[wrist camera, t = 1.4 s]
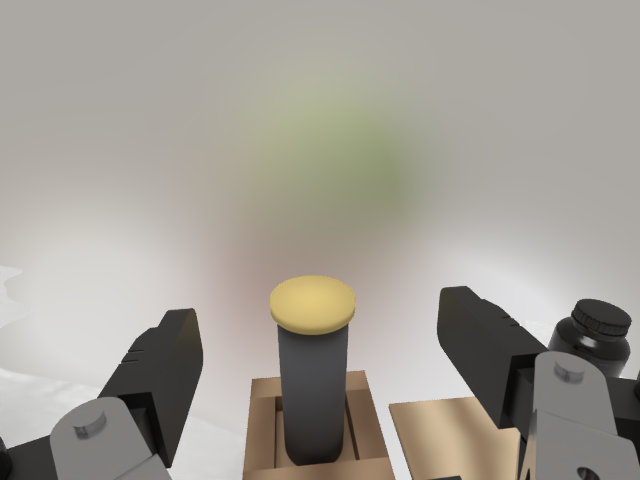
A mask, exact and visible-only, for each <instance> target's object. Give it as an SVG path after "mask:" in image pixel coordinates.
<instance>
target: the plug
mask: <svg viewBox="0 0 640 480" xmlns="http://www.w3.org/2000/svg"><path fill="white" fill-rule="evenodd" d="M270 309H271V315H272V317H273V319H274V321H275V322H276V323H277V326H278V342H279V358H280V374H281V391H282V407H283V423H284V439H285V449H286V453H287V455H288V457H289V458H290V460H291V461H292V462H293V463H294V464H295V465H296V466H305V465H315V464H325V463H334V462H335V461H336V460H337V459H338V458H339V456H340V454H341V452H342V448H343V434H344V412H345V390H346V368H347V346H348V323H349V322H350V320H351V319H352V317H353V316H354V313H355V294H354V292H353V291H352V289H351V288H350V287H349V286H348V285H347V284H345V283H343V282H342V281H340V280H337V279H335V278H331V277H327V276H319V275H308V276H301V277H296V278H292V279H289V280H287V281H285V282H283V283H281V284H280V285H278V286H277V287H276V288H275V289H274V290H273V292H272V294H271V296H270Z"/></svg>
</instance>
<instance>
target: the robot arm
mask: <svg viewBox="0 0 640 480" xmlns="http://www.w3.org/2000/svg"><path fill="white" fill-rule="evenodd" d="M437 335H438V340H439V343H440V345H441V347H442V349H443V350H444V352H445V353H446V355H447V356H448V358H449V359H450V360H451V362H452V363H453V365H454V366H455V368H456V369H457V371H458V372H459V373H460V375H461V376H462V377H463V379H464V381H465V382H466V384H467V385H468V386H469V388H470V389H471V391H472V392H473V394H474V395H475V397H476V398H477V399H478V401H479V402H480V404H481V405H482V407H483V408H484V410H485V411H486V412H487V414H488V415H489V417H490V418H491V420H492V421H493V423H494V424H495V426H496V427H497V428H498V430H499V429H508V428H517V429H518V431H519V432H520V436H519V441H518V449H517V461H516V473H515V480H640V371H639V374H638V377H637V380H631V379H624V378H615V377H607V376H604V375H603V374H602V372H601V371H600V370H599V369H598V368H596V367H595V366H594V365H592V364H591V363H589V362H588V361H586V360H584V359H582V358H580V357H577V356H574V355H571V354H568V353H563V352H556V351H550V350H549V349H547V348H546V347H545V346H544V345H543V344H542V343H541V342H539V341H538V340H537V339H536V338H535V337H534V336H533V335H531V334H530V333H529V332H528V331H527V330H526V329H524V328H523V327H522V326H520V325H519V323H518V322H516V321H515V320H514V319H513V318H511V317H510V316H509V315H508V314H507V313H506V312H505V311H504V310H503V309H501V308H500V307H499V306H497V305H495V304H493V303H491V302H489V301H487V300H485V299H480V297H478V296H477V295H476V294H475V293H474V292H473V291H472V290H471V289H470V288H468V287H467V286H458V287H447V288H443V289H442V290H441V293H440V300H439V311H438V322H437ZM202 367H203V349H202V343H201V338H200V332H199V327H198V321H197V316H196V312H195V310H194V309H193V308H190V309H178V310H168V311H167V312H166V314H165V315H164V317H163V319H162V320H161V322H160V324H159V326H158V327H155V328H150V329H148V330H147V331H145V332H144V333H143V334H142V335H140V336H139V337H138V338H137V339H136V340H135V341H134V343H133V344H132V346H131V347H130V349H129V350H128V353H127V354H126V355H125V357H124V358H123V359H122V361H121V364H119V366H118V367H117V369H116V370H115V372H114V373H113V375H112V376H111V378H110V379H109V381H108V382H107V384H106V385H105V387H104V388H103V390H102V391H101V393H100V394H99V396H98V397H97V399H94V400H91V401H88V402H86V403H84V404H82V405H80V406H78V407H76V408H75V409H73V410H71V411H70V412H69V413H67V414H66V415H65V416H64V417H63V418H62V419H60V421H59V422H58V423H57V424H56V425H55V427H54V428H53V430H52V432H51V435H48V436H45V437H42V438H39V439H36V440H33V441H30V442H27V443H24V444H21V445H18V446H15V447H12V448H9V449H6V447H5V444H4V442H3V440H2V439H1V437H0V480H172V479H171V477H170V475H169V473H168V471H167V470H166V468H171V466H172V463H173V460H174V456H175V453H176V450H177V447H178V444H179V441H180V438H181V434H182V431H183V428H184V425H185V422H186V419H187V415H188V412H189V409H190V406H191V403H192V400H193V397H194V393H195V390H196V387H197V384H198V381H199V378H200V374H201V371H202ZM428 480H462V479H461V477H460V475H459V476H451V477H444V478H436V479H428Z"/></svg>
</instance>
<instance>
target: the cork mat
mask: <svg viewBox="0 0 640 480" xmlns="http://www.w3.org/2000/svg"><path fill="white" fill-rule="evenodd" d="M389 410H390V413H391V416H392V419H393V422H394V425H395V428H396V432H397V435H398V438H399V441H400V444H401V447H402V450H403V453H404V456H405V459H406V462H407V465H408V468H409V471H410V474H411V477H412V480H428V479H436V478H444V477H451V476H459V475H460V477H461V479H462V480H515V473H516V461H517V449H518V441H519V436H520V432H519V431H518V429H517V428H508V429H499V430H498V428H497V427H496V426H495V424H494V423H493V421H492V420H491V418H490V417H489V415H488V414H487V412H486V411H485V410H484V408H483V407H482V405H481V404H480V402H479V401H478V399H477V398H476V397H464V398H453V399H441V400H430V401H418V402H406V403H395V404H389Z"/></svg>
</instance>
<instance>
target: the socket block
mask: <svg viewBox="0 0 640 480" xmlns="http://www.w3.org/2000/svg"><path fill="white" fill-rule="evenodd" d="M243 480H395V476H394V473H393V469H392V466H391V462H390V459H389V455H388V452H387V448H386V445H385V441H384V438H383V434H382V431H381V428H380V424H379V421H378V417H377V413H376V410H375V407H374V403H373V400H372V396H371V392H370V389H369V385H368V382H367V378H366V375H365V372H364V370H363V371H350V372H346V390H345V412H344V434H343V448H342V452H341V454H340V456H339V458H338V459H337V460H336V461H335V462H334V463H325V464H315V465H305V466H296V465H295V464H294V463H293V462H292V461H291V460H290V458H289V457H288V455H287V453H286V449H285V439H284V423H283V407H282V391H281V377H272V378H260V379H252V386H251V397H250V407H249V418H248V428H247V438H246V448H245V459H244V469H243Z"/></svg>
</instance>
